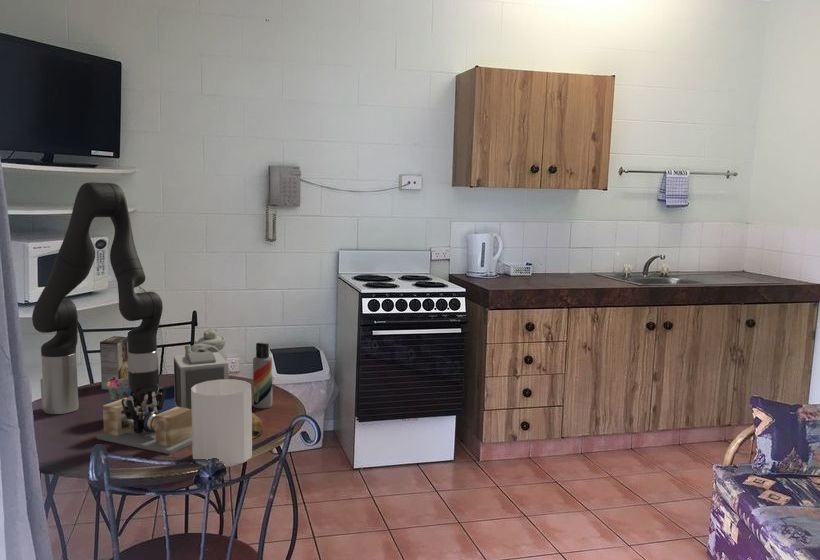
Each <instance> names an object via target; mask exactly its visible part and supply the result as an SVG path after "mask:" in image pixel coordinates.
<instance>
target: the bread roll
mask: <svg viewBox="0 0 820 560" xmlns="http://www.w3.org/2000/svg"><path fill="white" fill-rule="evenodd" d="M263 432H264V424H263V422H262V420H261V419H260V417H259V416H257V414H255V413H253V412H252V440H253V439H256V438H258V437H259V436H261V435H262V434H263Z"/></svg>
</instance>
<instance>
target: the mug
mask: <svg viewBox="0 0 820 560" xmlns="http://www.w3.org/2000/svg"><path fill="white" fill-rule="evenodd" d="M106 387H107V388H108V390H107V391H108V393H109V396H110V401H111V402H110V403H112V402H115V401H118V400H121V399H124V398H128V397H129V396H130V393H131V388H130V386H129V382H128V378H126V379H117V380H113V381H110V382H108V383H106Z"/></svg>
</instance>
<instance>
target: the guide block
mask: <svg viewBox="0 0 820 560" xmlns="http://www.w3.org/2000/svg"><path fill="white" fill-rule="evenodd" d="M124 399H127V398H124ZM121 401H122V399H121V400H118V401H115V402H110V403H109V402H108V403H106V404H104V405H102V418H103V419H102V420H103V432H104V433H106V434H111V435H116V436H119V435H122V434H124V433H127V432H129V431H132V430H134V426H129V425H124V424H122V420H121V411H123V410H124V409H123V406H122V403H121ZM137 407H139V408H140V407H141V406H137ZM137 412H138V411H137Z"/></svg>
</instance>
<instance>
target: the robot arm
mask: <svg viewBox="0 0 820 560" xmlns="http://www.w3.org/2000/svg"><path fill="white" fill-rule="evenodd" d="M75 196H76V197H75V200H74V203H73V207H72V211H71V215H70V219H69V223H68V225H67V228H66V232H65V235H64V237H63V241H62V242H61V245H60V247H59V249H58V253H57V255H56V258H55V260H54V265H53V267H52V269H51V272H50V275H49V277H48V279H47V281H46V284H45V285H44V288H43V289H42V291H41V293H40V295H39V297H38V299H37V301H36V303H35V305H34V307H33V310H32V315H31V316H32V317H31V322H32V325H33V328H34V329H35V330H36V331H37V332H38V333H42V334H43V333H44V334H46V333H49V334H50V333H55V332H56V333H55V335H54V336H53V337H52V338H51V339H49V340H48V341H47V342H44V343H43V344H42V345H41V347H40V357H41V372H42V373H41V374H42V378H41V379H40V395H41V396H40V398H41V411H43V412H44V413H45V414H47V415H62V414H69V413H72V412H75V411H78V409H79V388H78V387H79V386H78V366H77V365H78V364H77V344H78V340H79V339H78V328H79V327H78V325H79V323H78V320H79V319H78V317H79V316H78V310H77V306H76V304H75V303H74V301H72V300H71V299H70V298H66V297H67V296H68V295H69V294H70V293H72V291H74V290H75V289H76V288H77V287H78V286H79V285H80V284H82V283H83V282H84V281H85V279H87V277H88V276H89V273H90V272H91V270H92V267H93V265H94V262H95V259H96V249H95V246H94V243H93V241H92V238H91V236H90V228H91V226H92V225H91V224H92V222H93V220H94V219H95V218H110V219H111V222H112V224H113V228H114V235H113V240H112V244H111V248H110V250H109V252H110V253H109V261H110V262H109V263H110V264H111V269H112V271H113V275H114V277H115V279H116V281H117V293H118V310H119V312H120V315H121V317H123V319H125V320H126V321H128V322H137V321H141V323H140V324H139V326H136V327H135V328H133V329H130V330H129V332H128V333H127V337H128V382H129V386H130V388H131V393H130V396H129V397H128V398H127V399H122V401H121V403H122V406H123V409H124V412H125V415H126V418H127V419H132V420H133V421H134V431H135V433H138V434H141V433H143V426H142V423H143V420H142V416H143V413H145V411H147V412H146V413H149V412H157V413H158V414H159V411H162V410H163V407H164V401H165V396H166V391H167V389H166V388H165V387H160V386H158V385H159V383H160V378H159V377H160V376H159V375H160V374H159V372H160V371H159V368H160V367H159V355H158V342H157V339H158V337H157V334H158V330H159V328H160V327H159V326H160V322H161V318H162V314H163V309H164V307H163V300H162V298H161V296H160V295H159V293H157V292H155V291H144V292H143V291H142V292H135V288H137V287H139V286H142V284H144V283H145V281H146V275H145V270H144V268H143V265H142V263H141V260H140V257H139V254H138V251H137V248H136V245H135V239H134V235H133V229H132V223H131V218H130V213H129V207H128V202H127V199H126V195H125V192H124V191H123V189H122V187H121V186H120V185H119V184H117V183H115V182H95V181H93V182H91V181H89V182H85V183H83V184H82V185H80V187H79V189H78V191H77V194H76V195H75ZM137 406H140V408H139V407H137ZM137 411H138V415H137Z"/></svg>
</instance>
